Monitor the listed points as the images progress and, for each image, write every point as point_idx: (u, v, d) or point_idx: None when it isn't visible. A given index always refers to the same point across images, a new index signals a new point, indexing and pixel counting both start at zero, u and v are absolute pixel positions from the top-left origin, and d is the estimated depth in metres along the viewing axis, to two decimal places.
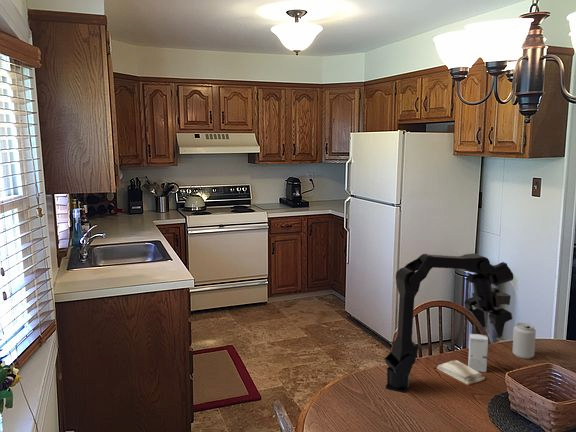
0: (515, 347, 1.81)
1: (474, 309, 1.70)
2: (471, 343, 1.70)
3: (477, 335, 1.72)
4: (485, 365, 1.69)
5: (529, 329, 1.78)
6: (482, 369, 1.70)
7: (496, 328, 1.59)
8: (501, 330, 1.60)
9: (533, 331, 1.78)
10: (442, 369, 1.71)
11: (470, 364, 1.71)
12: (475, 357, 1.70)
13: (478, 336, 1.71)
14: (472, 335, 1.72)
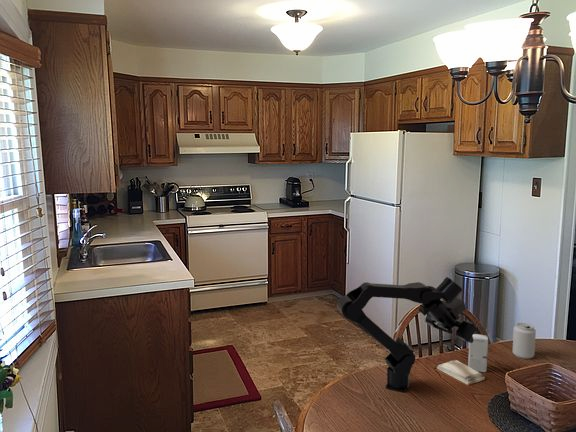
0: (515, 347, 1.81)
1: (437, 324, 1.69)
2: (471, 343, 1.70)
3: (477, 335, 1.72)
4: (485, 365, 1.69)
5: (529, 329, 1.78)
6: (482, 369, 1.70)
7: None
8: (471, 337, 1.61)
9: (533, 331, 1.78)
10: (442, 369, 1.71)
11: (470, 364, 1.71)
12: (475, 357, 1.70)
13: (478, 336, 1.71)
14: None
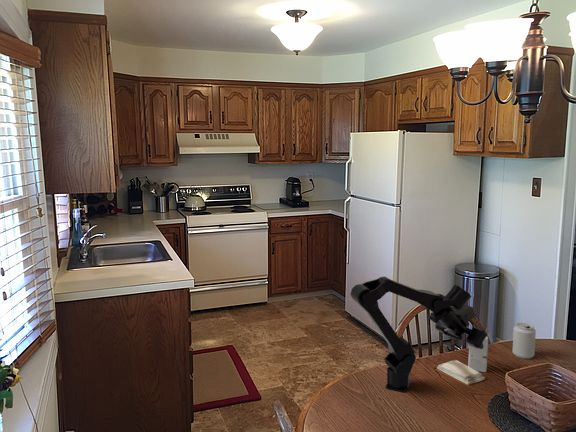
0: (515, 347, 1.81)
1: (447, 331, 1.71)
2: None
3: None
4: (485, 365, 1.69)
5: (529, 329, 1.78)
6: (482, 369, 1.70)
7: None
8: (481, 343, 1.64)
9: (533, 331, 1.78)
10: (442, 369, 1.71)
11: (470, 364, 1.71)
12: (475, 357, 1.70)
13: None
14: None
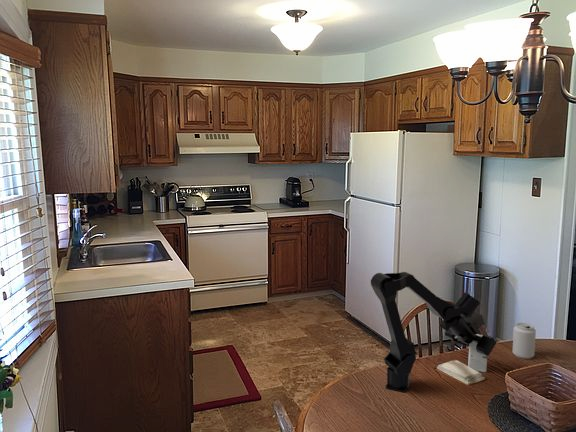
0: (515, 347, 1.81)
1: (459, 339, 1.73)
2: (471, 343, 1.70)
3: None
4: (485, 365, 1.69)
5: (529, 329, 1.78)
6: (482, 369, 1.70)
7: None
8: None
9: (533, 331, 1.78)
10: (442, 369, 1.71)
11: (470, 364, 1.71)
12: (475, 357, 1.70)
13: None
14: None
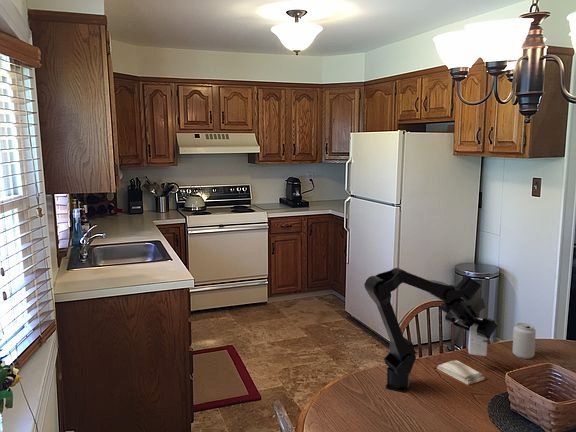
0: (515, 347, 1.81)
1: None
2: (471, 327, 1.69)
3: None
4: (485, 349, 1.69)
5: (529, 329, 1.78)
6: (482, 353, 1.69)
7: None
8: None
9: (533, 331, 1.78)
10: (442, 369, 1.71)
11: (470, 348, 1.70)
12: (475, 340, 1.69)
13: None
14: None
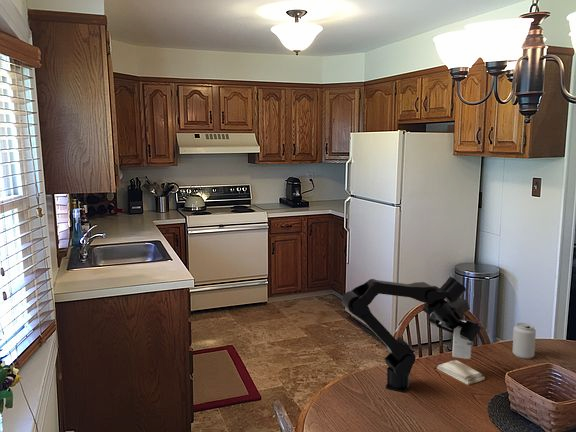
0: (515, 347, 1.81)
1: None
2: (455, 329, 1.66)
3: None
4: (469, 352, 1.65)
5: (529, 329, 1.78)
6: (466, 356, 1.66)
7: None
8: None
9: (533, 331, 1.78)
10: (442, 369, 1.71)
11: (454, 351, 1.67)
12: (459, 343, 1.66)
13: None
14: None
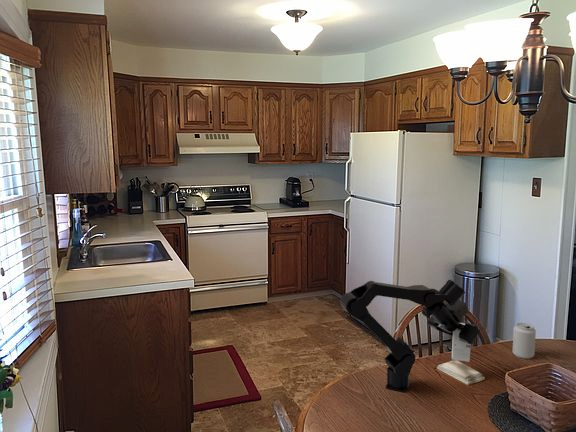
0: (515, 347, 1.81)
1: None
2: (454, 332, 1.66)
3: None
4: (468, 354, 1.65)
5: (529, 329, 1.78)
6: (465, 358, 1.65)
7: None
8: None
9: (533, 331, 1.78)
10: (442, 369, 1.71)
11: (453, 353, 1.67)
12: (458, 346, 1.66)
13: None
14: None
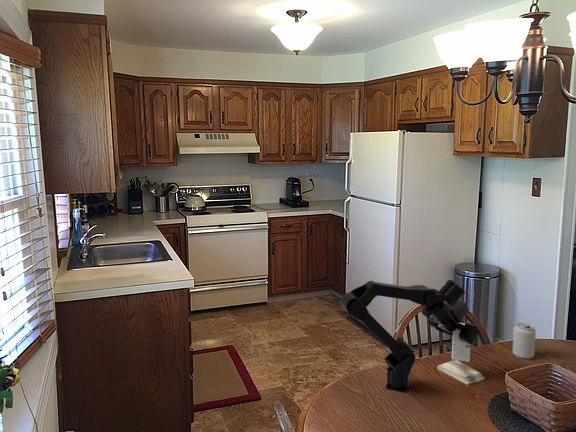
0: (515, 347, 1.81)
1: None
2: (454, 332, 1.66)
3: None
4: (468, 354, 1.65)
5: (529, 329, 1.78)
6: (465, 358, 1.65)
7: None
8: None
9: (533, 331, 1.78)
10: (442, 369, 1.71)
11: (453, 353, 1.67)
12: (458, 346, 1.66)
13: None
14: None
